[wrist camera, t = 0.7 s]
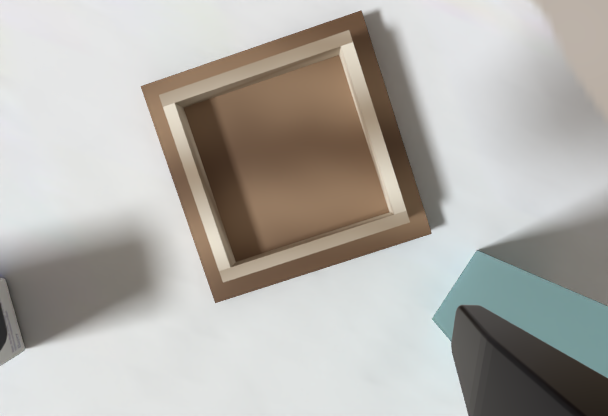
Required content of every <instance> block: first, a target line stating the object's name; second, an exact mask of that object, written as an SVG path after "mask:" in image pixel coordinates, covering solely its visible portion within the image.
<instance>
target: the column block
mask: <svg viewBox="0 0 608 416" xmlns="http://www.w3.org/2000/svg"><path fill="white" fill-rule="evenodd" d="M460 305H480V306H482V307H484V308H486V309H487V310H489V311H491V312H493V313H494V314H496V315H498V316H500V317H501V318H503V319H505V320H507V321H509V322H510V323H512V324H514V325H516V326H517V327H519V328H521V329H523V330H524V331H526V332H528V333H530V334H531V335H533V336H535V337H537V338H538V339H540V340H542V341H544V342H545V343H547V344H549V345H551V346H552V347H554V348H556V349H558V350H559V351H561V352H563V353H565V354H566V355H568V356H570V357H572V358H573V359H575V360H577V361H579V362H580V363H582V364H584V365H586V366H587V367H589V368H591V369H593V370H594V371H596V372H598V373H600V374H601V375H603V376H605V377H607V378H608V306H606V305H604V304H601V303H599V302H597V301H594V300H592V299H590V298H587V297H585V296H583V295H580V294H578V293H576V292H573V291H571V290H569V289H566V288H564V287H562V286H559V285H557V284H555V283H552V282H550V281H548V280H545V279H543V278H541V277H538V276H536V275H534V274H531V273H529V272H527V271H524V270H522V269H520V268H517V267H515V266H513V265H510V264H508V263H506V262H503V261H501V260H499V259H496V258H494V257H492V256H489V255H487V254H484V253H482V252H480V251H476V253H475V254H474V256H473V257H472V259H471V260H470V262H469V263H468V265H467V266H466V268H465V269H464V271H463V272H462V274H461V275H460V277H459V279H458V280H457V282H456V283H455V285H454V286H453V288H452V289H451V291H450V292H449V294H448V295H447V297H446V298H445V300H444V301H443V303H442V304H441V306H440V308H439V309H438V311H437V312H436V314H435V315H434V317H433V318H432V320H433V321H434V322H435V323H436V324H437V325H438V327H439V328H440V329H441V330H442V331H443V333H444V334H445V335H446V336H447V337H448V338H449V340H450V341H451V342H452V334H453V327H454V320H455V313H456V310H457V307H458V306H460Z"/></svg>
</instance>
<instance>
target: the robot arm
mask: <svg viewBox="0 0 608 416" xmlns="http://www.w3.org/2000/svg"><path fill="white" fill-rule="evenodd" d="M6 340H7V327H6V323H5V319H4V314H3V310H2V306H1V303H0V351H1V350H2V348H3V346H4V345H5V343H6ZM451 347H452V354H453V358H454V362H455V366H456V369H457V373H458V377H459V381H460V385H461V388H462V392H463V396H464V400H465V404H466V407H467V411H468V415H469V416H608V378H607V377H605V376H603V375H601V374H600V373H598V372H596V371H594V370H593V369H591V368H589V367H587V366H586V365H584V364H582V363H580V362H579V361H577V360H575V359H573V358H572V357H570V356H568V355H566V354H565V353H563V352H561V351H559V350H558V349H556V348H554V347H552V346H551V345H549V344H547V343H545V342H544V341H542V340H540V339H538V338H537V337H535V336H533V335H531V334H530V333H528V332H526V331H524V330H523V329H521V328H519V327H517V326H516V325H514V324H512V323H510V322H509V321H507V320H505V319H503V318H501V317H500V316H498V315H496V314H494V313H493V312H491V311H489V310H487V309H486V308H484V307H482V306H480V305H460V306H458V307H457V310H456V313H455V320H454V327H453V334H452V342H451Z"/></svg>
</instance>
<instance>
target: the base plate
mask: <svg viewBox="0 0 608 416" xmlns="http://www.w3.org/2000/svg"><path fill="white" fill-rule="evenodd" d="M141 89H142V91H143V94H144V97H145V100H146V103H147V106H148V109H149V112H150V115H151V118H152V121H153V123H154V126H155V129H156V132H157V135H158V138H159V141H160V144H161V147H162V150H163V153H164V155H165V158H166V161H167V164H168V167H169V170H170V173H171V176H172V179H173V182H174V184H175V187H176V190H177V193H178V196H179V199H180V202H181V205H182V208H183V211H184V214H185V216H186V219H187V222H188V225H189V228H190V231H191V234H192V237H193V240H194V243H195V246H196V248H197V251H198V254H199V257H200V260H201V263H202V266H203V269H204V272H205V275H206V278H207V280H208V283H209V286H210V289H211V292H212V295H213V298H214V301H215V303H217V302H220V301H223V300H226V299H230V298H233V297H236V296H239V295H242V294H245V293H248V292H251V291H254V290H258V289H261V288H264V287H267V286H270V285H273V284H276V283H279V282H283V281H286V280H289V279H292V278H295V277H298V276H301V275H304V274H307V273H311V272H314V271H317V270H320V269H323V268H326V267H329V266H332V265H336V264H339V263H342V262H345V261H348V260H351V259H354V258H357V257H360V256H364V255H367V254H370V253H373V252H376V251H379V250H382V249H385V248H389V247H392V246H395V245H398V244H401V243H404V242H407V241H410V240H413V239H417V238H420V237H423V236H426V235H429V234H432V233H431V230H430V227H429V223H428V220H427V217H426V214H425V211H424V208H423V204H422V201H421V198H420V195H419V192H418V188H417V185H416V182H415V179H414V176H413V173H412V169H411V166H410V163H409V160H408V157H407V154H406V150H405V147H404V144H403V141H402V138H401V135H400V131H399V128H398V125H397V122H396V119H395V115H394V112H393V109H392V106H391V103H390V100H389V96H388V93H387V90H386V87H385V84H384V81H383V77H382V74H381V71H380V68H379V65H378V62H377V58H376V55H375V52H374V49H373V46H372V43H371V39H370V36H369V33H368V30H367V27H366V23H365V20H364V17H363V14H362V11H358V12H355V13H353V14H350V15H347V16H344V17H341V18H338V19H335V20H332V21H329V22H326V23H323V24H321V25H318V26H315V27H312V28H309V29H306V30H303V31H300V32H297V33H294V34H292V35H289V36H286V37H283V38H280V39H277V40H274V41H271V42H268V43H265V44H262V45H260V46H257V47H254V48H251V49H248V50H245V51H242V52H239V53H236V54H233V55H230V56H228V57H225V58H222V59H219V60H216V61H213V62H210V63H207V64H204V65H201V66H198V67H196V68H193V69H190V70H187V71H184V72H181V73H178V74H175V75H172V76H169V77H167V78H164V79H161V80H158V81H155V82H152V83H149V84H146V85H143V86H141Z"/></svg>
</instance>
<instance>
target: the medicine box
mask: <svg viewBox="0 0 608 416" xmlns="http://www.w3.org/2000/svg"><path fill="white" fill-rule="evenodd" d="M0 303H1V306H2V310H3V314H4V319H5V323H6V327H7V340H6V343H5V345H4V346H3V348H2V350H1V351H0V366H1V365H3V364H4V363H6V362H7V361H9V360H11V359H12V358H14V357H15V356H17V355H19V354H20V353H21V352H23V351H24V350H25V346H24V343H23V339H22V336H21V332H20V329H19V325H18V322H17V318H16V315H15V311H14V308H13V304H12V301H11V297H10V294H9V290H8V287H7V283H6V280H5V279H4V278H0Z"/></svg>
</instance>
